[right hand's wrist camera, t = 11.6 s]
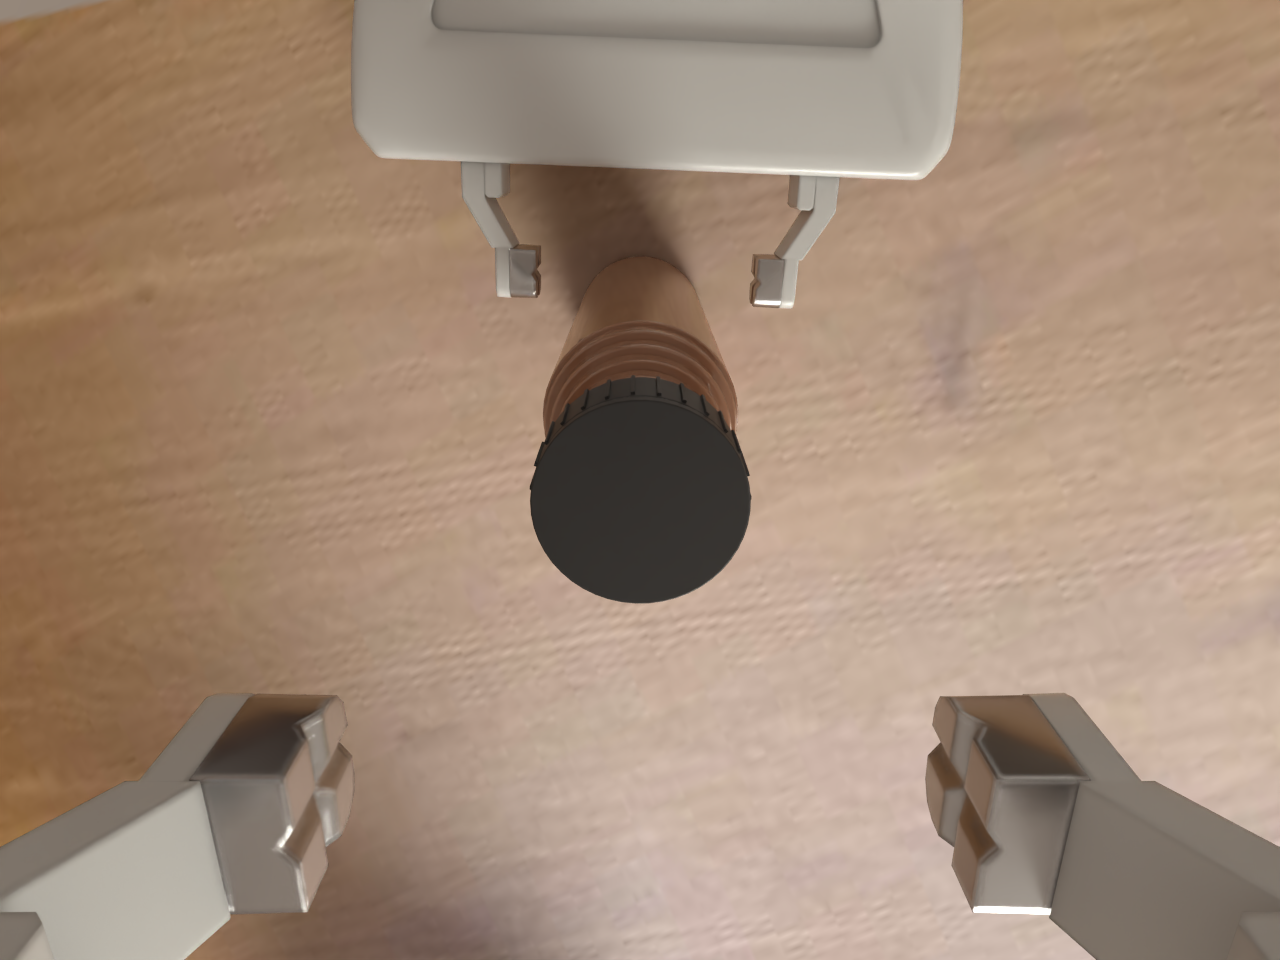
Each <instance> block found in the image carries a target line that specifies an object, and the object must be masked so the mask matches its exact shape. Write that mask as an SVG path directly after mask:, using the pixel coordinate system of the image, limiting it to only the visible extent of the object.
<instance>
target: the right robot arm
mask: <svg viewBox="0 0 1280 960" xmlns="http://www.w3.org/2000/svg"><path fill="white" fill-rule="evenodd" d="M347 725H348V724H347V719H346V713H345V708H344V702H343V701H342V700H341V699H340V698H339V697H338V696H337V695H295V694H256V695H255V694H215V695H212V696H209V697H207V698H206V699H205V700H204V701H203V702H202V703H201V705H200V706H199V707H198V708H197V710H196V711H195V712H194V713H193V715H192V716H191V717H190V718H189V719H188V721H187V722H186V723H185V724H184V726H183V727H182V728H181V729H180V731H179V732H178V733H177V734H176V735H175V737H174V738H173V739H172V740H171V742H170V743H169V744H168V745H167V747H166V748H165V749H164V750H163V751H162V753H161V754H160V755H159V756H158V758H157V759H156V760H155V761H154V763H153V764H152V765H151V766H150V767H149V769H148V770H147V771H146V772H145V774H144V775H143V776H142V777H141V779H140V780H139V781H125V782H123V783H121V784H119V785H117V786H115V787H113V788H111V789H109V790H107V791H106V792H104V793H102V794H100V795H98V796H96V797H94V798H92V799H90V800H89V801H87V802H85V803H83V804H81V805H79V806H77V807H75V808H73V809H72V810H70V811H68V812H66V813H64V814H62V815H60V816H58V817H56V818H54V819H53V820H51V821H49V822H47V823H45V824H43V825H41V826H39V827H37V828H36V829H34V830H32V831H30V832H28V833H26V834H24V835H22V836H20V837H19V838H17V839H15V840H13V841H11V842H9V843H7V844H5V845H3V846H1V847H0V960H184V959H185V958H187V957H188V956H189V955H190V954H191V953H192V952H193V951H194V950H196V949H197V948H198V947H199V946H200V945H201V944H202V943H204V942H205V941H206V940H207V939H208V938H209V937H210V936H211V935H213V934H214V933H215V932H216V931H217V930H218V929H219V928H221V927H222V926H223V925H224V924H225V923H226V922H227V921H228V920H230V914H260V913H294V912H308V910H309V908H310V905H311V903H312V901H313V899H314V896H315V894H316V892H317V890H318V887H319V885H320V883H321V881H322V879H323V876H324V874H325V872H326V870H327V867H328V859H327V853H326V847H327V846H328V845H330V844H331V843H332V842H334V841H335V840H336V839H338V838H339V837H340V836H342V833H343V831H344V828H345V826H346V824H347V821H348V819H349V816H350V811H351V806H352V801H353V795H354V766H353V758H352V755H351V754H350V753H349V752H348V751H347V750H346V749H345V748H344V747H343V746H342V745H341V744H340V743H339V741H340V739H341V737H342V735H343V733H344V731H345V729H346V727H347ZM932 725H933V727H934V729H935V731H936V733H937V735H938V737H939V739H940V741H941V743H940V744H939V745H938V746H937V747H936V748H935V749H934V750H933V751H932V752H931V753H930V754H929V755H928V759H927V768H926V777H925V781H926V794H927V803H928V807H929V811H930V815H931V819H932V821H933V824H934V826H935V828H936V831H937V833H938V836H940V837H941V838H942V839H944V840H945V841H946V842H948V843H949V844H950V845H952V846H953V847H954V853H953V859H952V867H953V870H954V872H955V874H956V876H957V878H958V881H959V883H960V885H961V887H962V890H963V892H964V894H965V896H966V898H967V901H968V903H969V905H970V907H971V910H972V912H983V913H1019V914H1050V916H1049V918H1050V919H1051V920H1052V921H1053V922H1054V923H1055V924H1057V925H1058V926H1059V927H1060V928H1061V929H1062V930H1063V931H1064V932H1066V933H1067V934H1068V935H1069V936H1070V937H1071V938H1072V939H1073V940H1075V941H1076V942H1077V943H1078V944H1079V945H1080V946H1081V947H1083V948H1084V949H1085V950H1086V951H1087V952H1088V953H1089V954H1090V955H1092V956H1093V957H1094V958H1095V959H1096V960H1280V847H1278V846H1276V845H1274V844H1273V843H1271V842H1269V841H1267V840H1265V839H1263V838H1261V837H1259V836H1257V835H1256V834H1254V833H1252V832H1250V831H1248V830H1246V829H1244V828H1242V827H1240V826H1239V825H1237V824H1235V823H1233V822H1231V821H1229V820H1227V819H1225V818H1223V817H1222V816H1220V815H1218V814H1216V813H1214V812H1212V811H1210V810H1208V809H1206V808H1205V807H1203V806H1201V805H1199V804H1197V803H1195V802H1193V801H1191V800H1189V799H1188V798H1186V797H1184V796H1182V795H1180V794H1178V793H1176V792H1174V791H1172V790H1171V789H1169V788H1167V787H1165V786H1163V785H1161V784H1159V783H1157V782H1155V781H1141V780H1140V779H1139V777H1138V776H1137V775H1136V774H1135V772H1134V771H1133V770H1132V769H1131V768H1130V766H1129V765H1128V764H1127V763H1126V761H1125V760H1124V759H1123V758H1122V756H1121V755H1120V754H1119V753H1118V752H1117V750H1116V749H1115V748H1114V747H1113V745H1112V744H1111V743H1110V742H1109V741H1108V739H1107V738H1106V737H1105V736H1104V734H1103V733H1102V732H1101V731H1100V729H1099V728H1098V727H1097V726H1096V725H1095V723H1094V722H1093V721H1092V720H1091V718H1090V717H1089V716H1088V715H1087V714H1086V712H1085V711H1084V710H1083V709H1082V707H1081V706H1080V705H1079V704H1078V702H1077V701H1076V700H1075V699H1074V698H1073V697H1071V696H1069V695H1067V694H1065V693H1048V694H1023V695H1007V696H940V698H939V700H938V702H937V704H936V707H935V711H934V718H933V724H932Z"/></svg>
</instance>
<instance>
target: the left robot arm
mask: <svg viewBox="0 0 1280 960" xmlns="http://www.w3.org/2000/svg"><path fill="white" fill-rule="evenodd" d="M962 36H963V0H355V1H354V13H353V27H352V46H351V105H352V118H353V123H354V127H355V129H356V131H357V132H358V134H359V135H360V136H361V138H362V139H363V140H364V142H365V143H366V144H367V145H368V146H369V148H370V149H371V150H372V151H373V152H374V153H375V155H377V156H378V157H381V158H390V159H413V160H436V161H460V162H461V179H462V198H463V199H464V201H465V203H466V204H467V206H468V208H469V210H470V211H471V213H472V215H473V217H474V218H475V220H476V222H477V223H478V225H479V227H480V229H481V230H482V232H483V234H484V235H485V237H486V239H487V241H488V242H489V244H490V246H491V247H492V248H495V267H496V291H497V296H498V297H518V298H537V297H538V295H539V294H540V291H541V275H540V273H539V272H538V270H537V268H538V267H539V265H540V264H541V246H539V245H523V244H519V241H518V239H517V237H516V235H515V234H514V232H513V230H512V228H511V226H510V224H509V222H508V221H507V219H506V217H505V215H504V213H503V211H502V209H501V207H500V206H499V204H498V202H497V200H496V198H499V197H503V196H506V195H508V194H509V193H510V163H513V164H537V165H562V166H586V167H610V168H634V169H658V170H682V171H706V172H730V173H755V174H779V175H790V180H789V193H788V205H789V206H790V207H792V208H795V209H798V210H802V211H801V212H800V214H799V215H798V217H797V218H796V220H795V221H794V223H793V225H792V226H791V228H790V229H789V231H788V232H787V234H786V235H785V237H784V238H783V240H782V242H781V243H780V245H779V246H778V248H777V249H776V251H775V252H774V254H775V255H769V254H753V257H752V268H751V272H752V274H753V276H754V277H755V278H754V280H753V281H752V282H751V283H750V303H751V304H752V306H753V307H769V308H791V309H792V307H793V304H794V300H795V292H796V282H797V272H798V262H799V260H803V258H804V257H805V255H806V254H807V253H808V251H809V250H810V248H811V247H812V245H813V244H814V243H815V241H816V240H817V238H818V237H819V235H820V234H821V233H822V231H823V230H824V228H825V227H826V225H827V224H828V223H829V221H830V220H831V218H832V217H833V215H834V214H835V212H836V203H837V195H838V187H839V178H840V177H846V178H871V179H895V180H921V179H923V178H925V177H926V176H927V175H928V174H929V173H930V172H931V171H932V170H933V169H934V168H935V167H936V166H937V164H938V163H939V162H940V161H941V160H942V158H943V157H944V156H945V155H946V153H947V152H948V150H949V148H950V144H951V141H952V136H953V130H954V125H955V118H956V110H957V102H958V93H959V83H960V70H961V55H962Z"/></svg>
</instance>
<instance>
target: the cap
mask: <svg viewBox="0 0 1280 960" xmlns="http://www.w3.org/2000/svg"><path fill="white" fill-rule="evenodd" d="M534 466H536V470H535V473H534V476H533V479H532V482H531V485H530V490H531V497H530V505H531V516H532V521H533V526H534V529H535V532H536V535H537V537H538V540H539V542H540V544H541V546H542V548H543V550H544V552H545V553H546V554H547V556H548V557H549V559H550V560H551V561H552V563H553V564H554V565H555V566H556V567H557V568H558V569H559V570H560V571H561V572H562V573H563V574H564V575H565V576H566V577H567V578H569V579H570V580H571V581H572V582H574V583H575V584H577V585H578V586H580V587H582V588H583V589H585V590H587V591H589V592H591V593H593V594H595V595H598V596H601V597H604V598H607V599H610V600H615V601H619V602H627V603H654V602H662V601H666V600H670V599H674V598H677V597H680V596H683V595H685V594H688V593H690V592H692V591H694V590H696V589H698V588H700V587H701V586H703V585H704V584H706V583H707V582H708V581H710V580H711V579H713V578H714V577H715V576H716V575H717V574H718V573H719V572H720V571H722V569H723V568H724V567H725V566H726V565H727V564H728V563H729V561H730V560H731V559H732V557H733V556H734V554H735V553H736V551H737V550H738V548H739V546H740V544H741V542H742V540H743V538H744V535H745V532H746V529H747V526H748V521H749V515H750V504H751V494H750V487H749V482H748V478H747V476H750V475H749V471H748V468H747V465H746V463H745V460H744V457H743V454H742V451H741V448H740V445H739V443H738V440H737V437H736V434H735V431H734V430H730V428H729V426H728V425H727V423H726V421H725V419H724V416H723V413H722V412H721V410H720V411H717V410H716V409H715V408H714V407H713V406H712V405H711V404H710V403H709V402H708V401H707V400H706V398H705V396H704V395H703V394H702V395H701V396H700V395H698V394H697V393H695V392H693V391H692V390H690V389H688V388H686V387H684V384H683V383H680V385H679V384H676V383H673V382H670V381H666V380H662V379H660V377H659V376H656V378H647V377H637V378H635V375H631V378H626V379H619V380H615V381H611V379H609V380H607V383H605V384H602V385H600V386H598V387H595V388H593V389H591V390H588V389H586V390H585V391H584V394H583V395H581V396H580V397H578V398H577V399H576V400H575V401H573V402H572V403H571V404H569V403H567V404H566V405H565V408H564V411H563V412H562V413H561V415H560V416H559V417H558V419H557V420H556V421H555V422H554V421H552V422H551V424H550V427H549V430H548V433H547V436H546V439H545V442H542V444H541V447H540V449H539V452H538V455H537V458H536V461H535V464H534Z"/></svg>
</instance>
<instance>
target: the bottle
mask: <svg viewBox="0 0 1280 960" xmlns="http://www.w3.org/2000/svg"><path fill="white" fill-rule="evenodd" d="M631 375H635V378H637V377H647V378H656V376H659V377H660V379H662V380H666V381H670V382H673V383H676V384H679V385H680V383H683V384H684V387H686V388H688V389H690V390H692V391H693V392H695V393H697V394H698V395H700V396H701V395H702V394H703V395H704V396H705V398H706V400H707V401H708V402H709V403H710V404H711V405H712V406H713V407H714V408H715V409H716V410H717V411H720V410H721V412H722V413H723V416H724V419H725V421H726V423H727V425H728V426H729V428H730V430H734V431H735V434H736V432H737V424H738V405H737V397H736V394H735V390H734V386H733V383H732V381H731V378H730V376H729V373H728V371H727V369H726V366H725V364H724V361H723V359H722V356H721V354H720V351H719V349H718V346H717V344H716V341H715V339H714V336H713V334H712V331H711V329H710V326H709V324H708V321H707V319H706V316H705V314H704V312H703V309H702V307H701V304H700V302H699V299H698V297H697V294H696V292H695V290H694V288H693V286H692V284H691V283H690V281H689V280H688V279H687V277H686V276H685V275H684V274H683V273H682V272H681V271H680V270H678V269H677V268H676V267H674V266H673V265H671V264H669V263H667V262H665V261H663V260H660V259H657V258H653V257H645V256H635V257H629V258H625V259H621V260H619V261H616V262H614V263H612V264H611V265H609V266H607V267H606V268H604V269H603V270H602V271H601V272H600V273H599V274H598V275H597V276H596V277H595V278H594V279H593V281H592V282H591V283H590V285H589V287H588V289H587V291H586V293H585V295H584V297H583V300H582V302H581V305H580V307H579V310H578V312H577V315H576V317H575V320H574V322H573V324H572V327H571V329H570V332H569V334H568V337H567V339H566V342H565V344H564V347H563V349H562V351H561V354H560V356H559V359H558V361H557V364H556V366H555V369H554V371H553V374H552V376H551V379H550V381H549V384H548V387H547V390H546V394H545V399H544V408H543V421H544V430H545V437H546V436H547V433H548V430H549V427H550V424H551V422H552V421H554V422H555V421H556V420H557V419H558V417H559V416H560V415H561V413H562V412H563V411H564V408H565V405H566V404H567V403H569V404H571V403H572V402H573V401H575V400H576V399H577V398H578V397H580V396H581V395H583V394H584V391H585V390H586V389H588V390H591V389H593V388H595V387H598V386H600V385H602V384H605V383H607V380H609V379H611V381H615V380H619V379H626V378H631Z"/></svg>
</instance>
